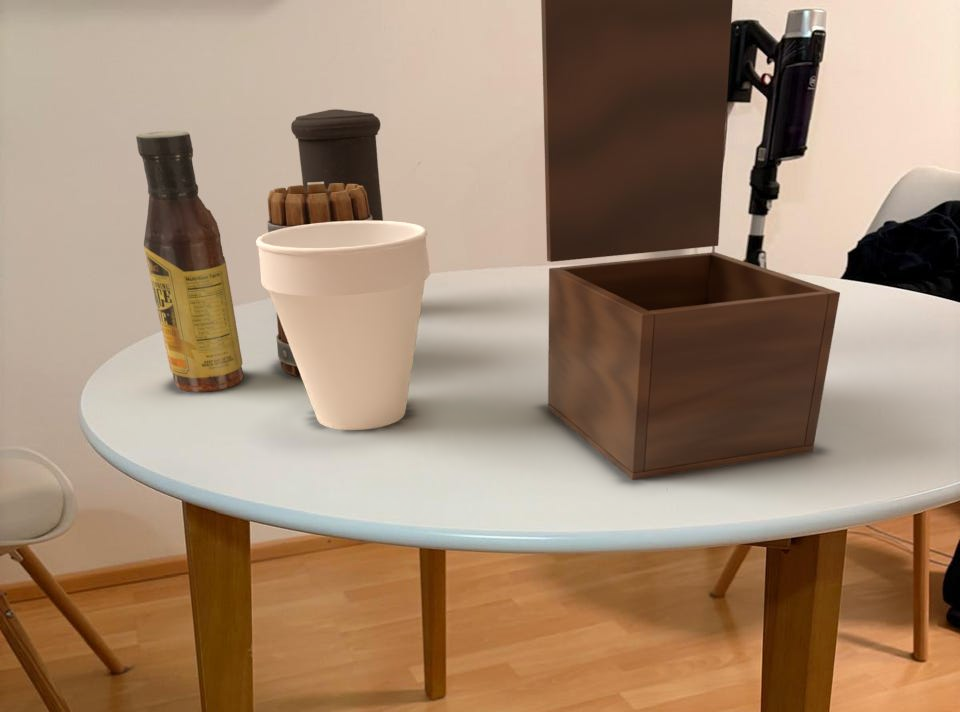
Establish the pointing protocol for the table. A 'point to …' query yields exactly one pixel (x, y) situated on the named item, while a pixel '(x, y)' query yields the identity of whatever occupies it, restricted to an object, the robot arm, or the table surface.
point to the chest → (688, 360)
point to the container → (340, 151)
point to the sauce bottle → (188, 269)
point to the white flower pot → (349, 313)
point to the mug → (311, 209)
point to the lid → (633, 124)
